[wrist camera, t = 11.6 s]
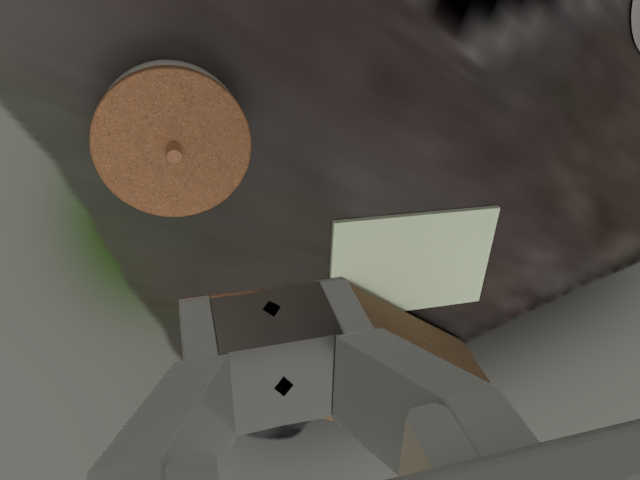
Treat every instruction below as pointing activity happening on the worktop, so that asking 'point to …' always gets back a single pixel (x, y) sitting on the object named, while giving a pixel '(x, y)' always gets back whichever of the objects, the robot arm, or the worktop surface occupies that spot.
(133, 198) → the lidded jar
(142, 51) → the worktop surface
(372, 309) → the wooden block
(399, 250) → the mat
